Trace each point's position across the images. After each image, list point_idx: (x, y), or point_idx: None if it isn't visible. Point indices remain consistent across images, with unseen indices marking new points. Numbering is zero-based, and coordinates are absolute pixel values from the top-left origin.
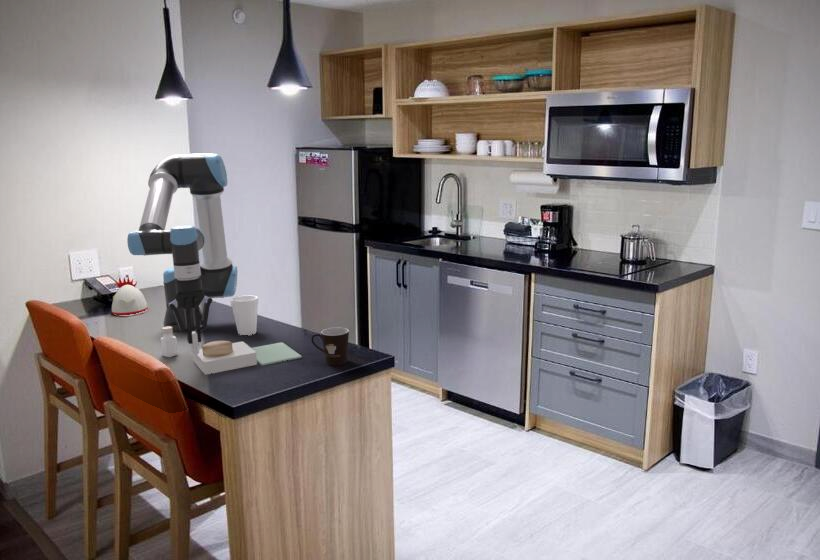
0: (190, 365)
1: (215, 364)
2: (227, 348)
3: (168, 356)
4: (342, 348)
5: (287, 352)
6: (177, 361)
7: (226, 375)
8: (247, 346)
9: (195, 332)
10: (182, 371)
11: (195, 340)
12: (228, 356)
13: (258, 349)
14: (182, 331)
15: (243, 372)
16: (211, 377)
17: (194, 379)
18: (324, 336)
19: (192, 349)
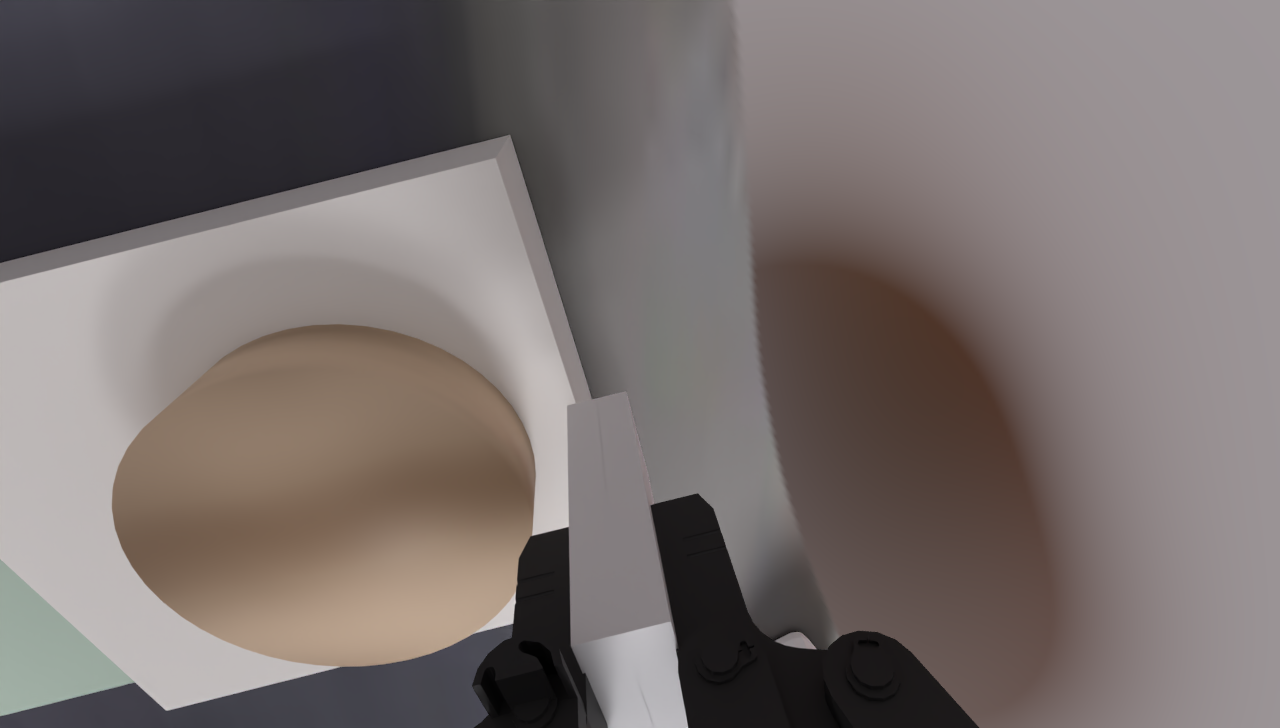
0: (656, 450)
1: (363, 182)
2: (157, 416)
3: (798, 635)
4: None
5: None
6: (746, 554)
7: (240, 7)
8: (37, 576)
9: (605, 685)
10: (728, 326)
11: (607, 524)
12: (173, 290)
13: (79, 633)
14: (897, 660)
15: (23, 40)
16: (427, 8)
17: (623, 19)
18: None
19: (648, 480)
